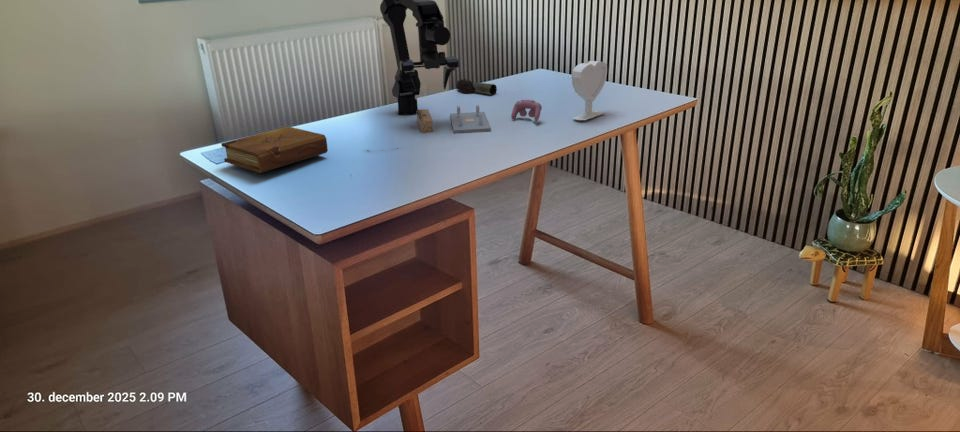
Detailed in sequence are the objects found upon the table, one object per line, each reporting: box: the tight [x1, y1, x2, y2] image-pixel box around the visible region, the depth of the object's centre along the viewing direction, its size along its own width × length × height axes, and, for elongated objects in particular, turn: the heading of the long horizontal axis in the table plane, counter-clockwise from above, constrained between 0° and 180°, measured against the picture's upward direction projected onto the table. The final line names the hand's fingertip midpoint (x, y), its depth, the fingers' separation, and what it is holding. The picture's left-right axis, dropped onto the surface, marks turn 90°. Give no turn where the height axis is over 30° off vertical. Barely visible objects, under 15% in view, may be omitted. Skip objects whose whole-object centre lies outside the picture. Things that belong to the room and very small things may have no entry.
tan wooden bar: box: [416, 108, 434, 134], centre depth 223 cm, size 4×16×4 cm, turn 9°
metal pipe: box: [456, 78, 498, 96], centre depth 263 cm, size 18×7×6 cm, turn 53°
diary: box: [221, 125, 329, 174], centre depth 197 cm, size 23×19×6 cm
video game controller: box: [510, 99, 543, 122], centre depth 226 cm, size 10×5×7 cm, turn 65°
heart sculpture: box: [571, 60, 608, 121], centre depth 226 cm, size 16×5×18 cm, turn 137°
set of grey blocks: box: [456, 104, 483, 126], centre depth 224 cm, size 8×13×4 cm, turn 5°
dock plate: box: [449, 111, 492, 134], centre depth 225 cm, size 12×22×1 cm, turn 5°
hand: (430, 90), depth 221 cm, fingers open, 9 cm apart
